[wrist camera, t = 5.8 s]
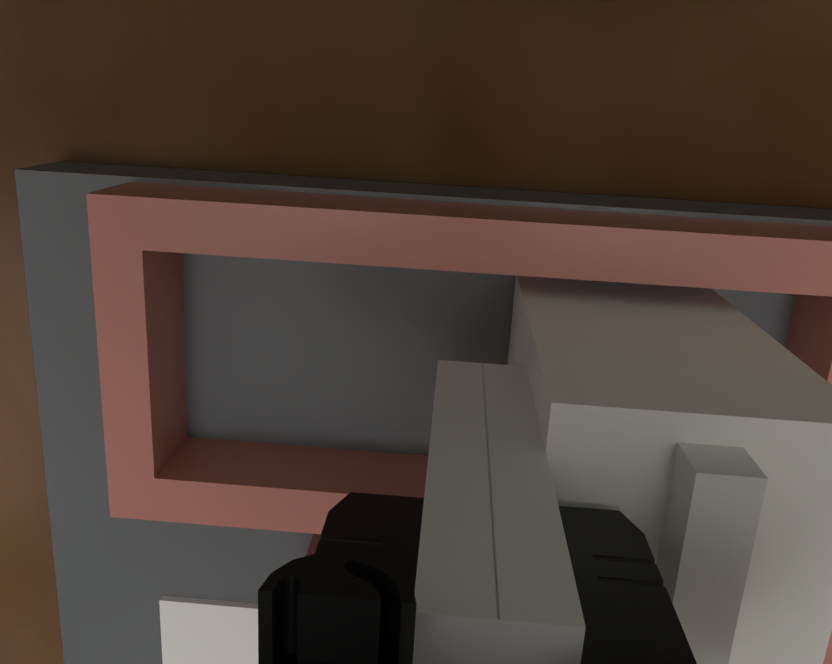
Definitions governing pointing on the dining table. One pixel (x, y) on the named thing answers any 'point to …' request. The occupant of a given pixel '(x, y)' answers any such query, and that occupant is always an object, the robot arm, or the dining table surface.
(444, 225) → the switch bank
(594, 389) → the tab inner
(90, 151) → the dining table surface
